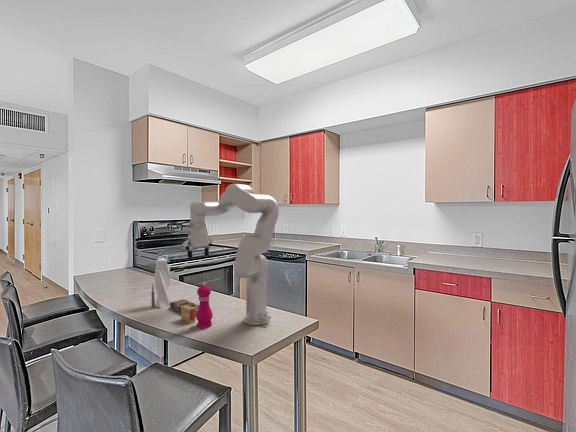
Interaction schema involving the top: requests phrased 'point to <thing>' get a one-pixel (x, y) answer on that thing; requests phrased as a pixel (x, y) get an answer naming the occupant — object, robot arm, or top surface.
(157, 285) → the skyscraper
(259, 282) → the robot arm
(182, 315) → the tan rectangular block
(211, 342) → the top surface
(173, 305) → the rail
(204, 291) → the pepper mill
